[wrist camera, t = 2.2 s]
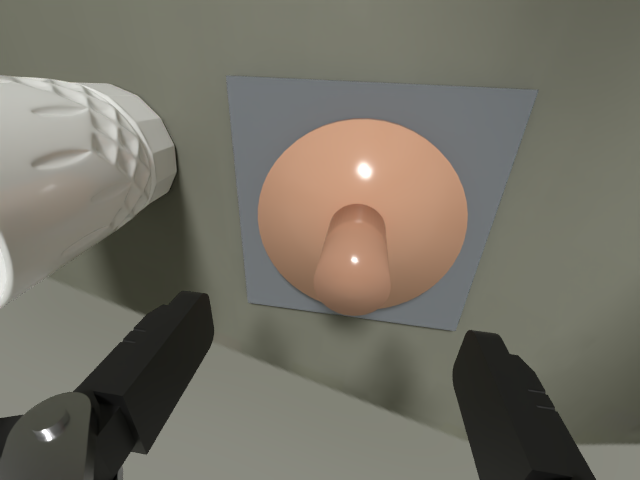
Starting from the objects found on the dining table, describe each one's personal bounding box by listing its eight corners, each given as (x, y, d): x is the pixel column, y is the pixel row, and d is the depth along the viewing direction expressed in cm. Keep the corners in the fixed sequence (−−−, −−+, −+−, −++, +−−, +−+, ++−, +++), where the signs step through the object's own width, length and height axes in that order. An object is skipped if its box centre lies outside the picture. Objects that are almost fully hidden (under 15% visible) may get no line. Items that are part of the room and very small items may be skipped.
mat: (533, 89, 13) (538, 90, 13) (453, 325, 20) (455, 331, 20) (230, 75, 15) (226, 75, 14) (250, 298, 22) (247, 302, 21)
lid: (490, 124, 14) (562, 152, 9) (437, 309, 19) (461, 397, 14) (257, 111, 15) (195, 130, 10) (268, 288, 20) (231, 362, 15)
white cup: (163, 232, 20) (4, 350, 11) (51, 163, 19) (-223, 235, 10) (208, 130, 16) (22, 190, 8) (71, 36, 15) (-329, -19, 7)
